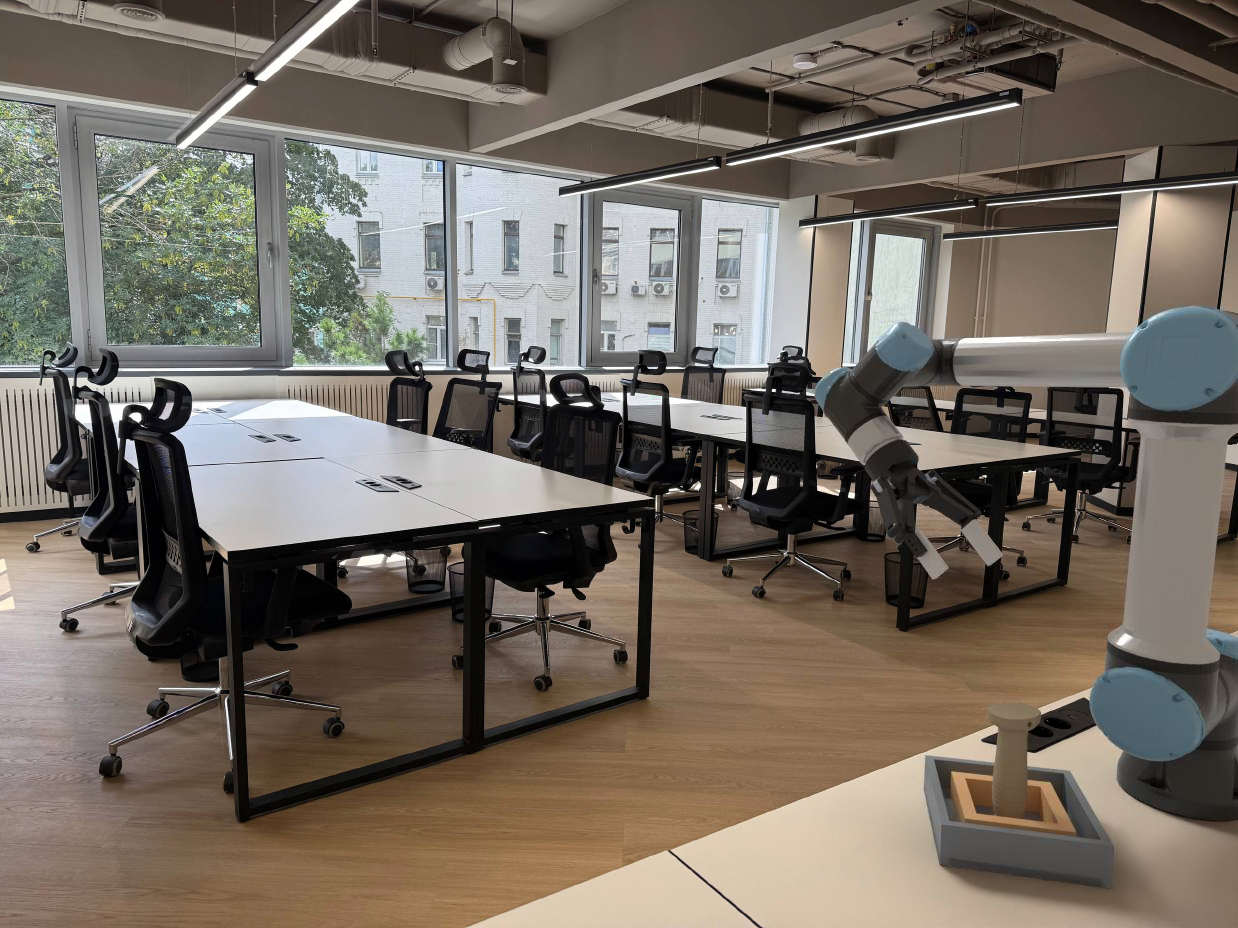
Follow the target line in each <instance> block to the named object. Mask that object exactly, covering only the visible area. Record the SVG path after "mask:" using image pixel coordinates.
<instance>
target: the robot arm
mask: <svg viewBox="0 0 1238 928" xmlns="http://www.w3.org/2000/svg"><path fill="white" fill-rule="evenodd" d="M962 386H963V387H965V386H966V387H1035V388H1036V387H1037V388H1038V387H1039V388H1041V387H1046V388H1047V387H1051V388H1052V387H1057V388H1062V387H1063V388H1064V387H1065V388H1066V387H1067V388H1068V387H1069V388H1126V389H1127V390H1128V392H1129V393H1130V394H1129V395H1130V396H1129V404H1128V414H1127V415H1128V416H1127V421H1128V422H1129V424H1131V426H1133V428H1135V429H1136V430H1137V432H1138V433H1139V435H1140V444H1139V452H1138V463H1137V464H1138V466H1137V475H1136V485H1135V495H1134V496H1135V497H1134V504H1133V505H1134V506H1133V516H1132V517H1133V519H1132V524H1131V525H1132V527H1131V537H1130V547H1129V557H1128V569H1127V571H1128V572H1127V578H1126V579H1127V580H1126V588H1125V589H1126V590H1125V599H1124V610H1123V620H1122V624H1121V625H1120V626H1119V627H1116V628H1115V629H1114V630H1112V631H1110V632H1109V633H1108V634H1107V639H1106V640H1107V642H1106V652H1105V659H1104V661H1105V663H1104V672H1103V673H1101V674H1100V675H1099V676H1098V677H1097V678H1096V680H1095V682H1094V683H1093V686H1092V688H1091V689H1090V693H1089V701H1088V702H1089V710H1090V712H1091V716H1092V718H1093V721H1094V723H1095V725H1096V726H1097V728H1098V729H1099V730H1100V731H1101V732H1102V733H1103V735H1104V736H1105V737H1106V738H1107V739H1108V740H1109V742H1110V743H1112V744H1113V745H1114V746H1115V747H1117V748H1118V749H1120V750H1121V751H1122V753H1121V754H1120V756H1119V758H1118V760H1117V764H1116V765H1117V766H1116V767H1117V768H1116V781H1117V783H1118V785H1119V786H1120V787H1121V788H1122V789H1123V790H1124V791H1125V792H1127V793H1128V794H1129V795H1131V796H1132V797H1134V798H1135V799H1138V800H1139V801H1141V802H1143V803H1145V804H1146V805H1150V806H1152V807H1154V808H1157V809H1159V810H1161V811H1162V810H1163V811H1165V812H1168V813H1171V814H1174V815H1178V816H1182V817H1186V818H1192V819H1198V820H1204V821H1205V820H1206V821H1232V820H1238V636H1235V635H1233V634H1229V633H1228V632H1223V631H1220V630H1215V629H1212V628H1208V624H1209V623H1208V622H1209V615H1210V607H1211V606H1210V605H1211V597H1212V590H1213V589H1212V587H1213V580H1214V579H1213V578H1214V570H1215V561H1216V560H1215V559H1216V553H1217V552H1216V550H1217V543H1218V532H1219V525H1220V515H1221V505H1222V497H1223V496H1222V495H1223V487H1224V477H1225V469H1226V462H1227V461H1226V459H1227V449H1228V442H1229V440H1230V439H1231V438H1232V437H1233V436H1235V434H1237V433H1238V313H1237V312H1234V311H1229V310H1228V311H1227V310H1221V309H1218V308H1216V307H1212V306H1201V305H1200V306H1199V305H1191V306H1184V307H1176V308H1170V309H1167V310H1164V311H1161V312H1158V313H1157V314H1154V315H1152V316H1150V317H1149V318H1148V319H1146V320H1145V321H1143V322H1142V323H1141V324H1140V325H1139V326H1137V327H1136V328H1135V329H1134V330H1133V331H1126V332H1125V331H1123V332H1098V333H1097V332H1096V333H1093V332H1092V333H1073V334H1071V333H1070V334H1049V335H1048V334H1046V335H1045V334H1044V335H1020V336H1019V335H1018V336H1015V335H1014V336H995V337H993V336H992V337H970V338H969V337H967V338H941V339H940V338H939V339H938V338H937V339H936V338H929V336H928V335H927V334H926V333H925V332H924V331H923V330H921V329H920V328H919V327H917V326H916V325H913V324H910V323H909V322H907V321H898V322H895V323H894V324H893V325H892V326H891V327H889V328H888V329H887V330H886V331H885V332H884V333H883V334H881V335H880V336H879V337H878V339H877V340H876V341H875V343H874V344H873V345H872V346H871V347H870V348H869V350H868V351H866V353H865V354H864V355H863V356H862V357H861V359H860V360H859V361H858V362H857V363H856V365H854V367H853V368H852V369H851V368H850V367H846V366H845V367H844V366H843V367H838V368H834V369H833V370H831V371H830V372H828V374H827V375H824V376H823V377H822V378H821V379H820V380H818V382H817V384H816V385H815V388H814V391H813V393H814V398H815V400H816V402H817V403H818V405H819V407H820V408H821V410H822V412H823V415H824V416H825V417H826V418H827V419H828V420H829V421H830V423H832V425H833V426H834V428H835V429H836V431H837V432H838V433H839V435H840V437H842V439H844V442H845V444H847V446H848V447H849V448H850V450H851V451H852V452H853V454H854V455H855V457H856V459H858V461H859V463H861V465H863V466H864V470H865V472H866V473H867V474H868V476H869V477H870V478H871V480H872V481H873V482H872V484H871V485H870V486H869V488H870V490H871V492H872V493H873V495H874V497H875V498H876V502H877V505H878V508H879V513H880V515H881V518H882V521H883V525H884V528H885V532H886V536H888V538H891V539H893V540H894V542H895V543H897V544H899V545H900V544H902V543H903V542H904V543H906V546H907V547H908V548H909V550H910V551H911V552H912V554H913V555H914V557H916V558H917V560H918V561H919V563H920V564H921V565H922V567H923V568H924V570H925V571H926V572H927V573H928V575H929V576H930V578H931V580H937V579H938V578H939V577H940V576H942V574H944V573H945V572H946V571H947V570H948V569H950V567H949V565H948V564H947V563H946V562H945V560H944V559H943V558H942V556H941V554H939V552H938V550H937V549H936V548H935V547H934V546H933V544H932V542H931V541H930V540H929V538H928V537H927V535H926V534H925V533H924V531H922V529H918V530H916V520H915V509H914V508H915V507H914V504H916V505H920V504H921V505H922V506H925V507H931V508H932V509H934V510H935V511H937V512H939V513H940V514H941V515H943V516H945V517H947V518H948V519H949V520H951V521H952V522H954V523H955V524H957V525H959V526H960V527H962V528H961V529H960V532H961V533H962V534H963V535H964V537H965V538H966V540H967V541H968V542H969V544H970V545H971V546H972V548H973V549H974V550H975V552H976V553H977V554H978V556H979V557H980V558H981V559H982V560H983V562H984V563H985V565H986V566H987V567H989V566H991V565H993V564H994V563H995V562H997V561H998V560H999V559H1000V558H1002V557H1003V556H1004V554H1003V552H1002V551H1001V550H1000V549H999V547H998V546H997V545H996V543H995V542H994V541H993V539H992V538H991V537H990V535H988V534H989V533H987V531H986V530H985V529H984V528H983V526H982V525H981V524H980V523H979V521H978V519H979V518H980V517H981V516H982V511H981V510H980V508H978V507H977V506H975V504H973V503H972V502H971V501H969V499H967V498H966V497H964V496H963V495H962V494H961V493H960V492H959V491H957V490H956V489H955V488H954V487H953V486H951V485H950V484H949V483H948V482H947V481H945V480H944V479H943V477H941V475H939V473H938V472H937V471H936V470H934V469H933V468H932V469H930V470H928V472H927V473H925V474H924V473H923V472H922V471H921V470H920V469H919V468H918V463H919V460H920V458H919V455H918V453H917V452H916V451H915V449H914V448H913V447H912V445H910V443H909V441H908V440H905V439H904V435H903V433H902V432H901V431H900V429H898V428H897V427H896V425H895V424H894V423H893V422H892V420H891V419H890V417H889V416H888V415H887V413H886V412H885V411H884V409H883V407H884V406H885V405H886V404H887V403H889V402H890V400H891V399H892V398H893V397H894V396H895V395H896V394H897V393H898V392H899V391H900V390H901V389H902V388H903V387H905V388H907V387H962Z"/></svg>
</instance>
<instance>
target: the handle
mask: <svg viewBox="0 0 1238 928" xmlns="http://www.w3.org/2000/svg"><path fill="white" fill-rule="evenodd" d="M986 719H987V720H988V722H989V723H991V724H992V725H994V726H995V727H997V740H996V747H995V748H996V749H995V757H994V771H993V781H992V783H993V784H992V802H993V810H994V812H995V815H993V816H1000V817H1008V818H1017V819H1023V815H1024V811H1025V806H1026V799H1027V786H1028V773H1027V766H1028V735H1029V731H1032V730H1034V729H1035V728H1036V727H1037V726H1038V725H1039V724H1040V722H1041V719H1042V711H1041V709H1038V708H1037V707H1036V706H1033V705H1030V704H1027V703H1023V702H1013V701H1006V702H1005V701H1004V702H998V703H993V704H991V705H990V706H988V707H987V708H986Z"/></svg>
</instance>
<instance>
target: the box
mask: <svg viewBox="0 0 1238 928" xmlns="http://www.w3.org/2000/svg"><path fill="white" fill-rule="evenodd" d="M994 763H995V761H994V762H993V761H984V760H975V759H964V758H956V757H947V756H946V757H945V756H936V755H928V754H927V755H926V754H925V755H924V773H923V774H924V775H923V777H924V778H923V792H924V797H925V802H926V807H927V811H928V812H927V813H928V817H929V821H930V826H931V831H932V836H933V840H934V845H935V849H936V853H937V854H936V855H937V859H938V864H939V866H947V867H953V868H954V867H955V868H959V869H960V868H963V869H969V870H976V871H983V872H990V873H998V874H1005V875H1010V876H1011V875H1013V876H1019V877H1027V878H1034V879H1042V880H1046V881H1047V880H1049V881H1054V882H1055V881H1056V882H1062V883H1069V884H1077V885H1085V886H1091V887H1097V888H1098V887H1099V888H1106V889H1111V888H1112V881H1113V879H1112V878H1113V864H1114V849H1115V846H1114V844H1113V842H1112V841H1111V839H1110V837H1109V835H1108V834H1107V832H1106V830H1105V828H1104V827H1103V825H1102V824H1101V821H1100V820H1099V818H1098V816H1097V815H1096V813H1095V811H1094V810H1093V808H1092V806H1091V804H1090V803H1089V801H1088V799H1087V797H1086V795H1085V794H1084V792H1083V791H1082V789H1081V787H1080V786H1079V784H1078V782H1077V781H1076V778H1075V777H1074V775H1073V773H1072V772H1071V770H1066V769H1059V768H1048V767H1039V766H1037V767H1036V766H1031V765H1027V773H1028V786H1027V799H1026V806H1025V811H1024V815H1023V819H1017V818H1008V817H1000V816H993V815H995V812H994V810H993V802H992V784H993V783H992V781H993V771H994Z"/></svg>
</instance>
